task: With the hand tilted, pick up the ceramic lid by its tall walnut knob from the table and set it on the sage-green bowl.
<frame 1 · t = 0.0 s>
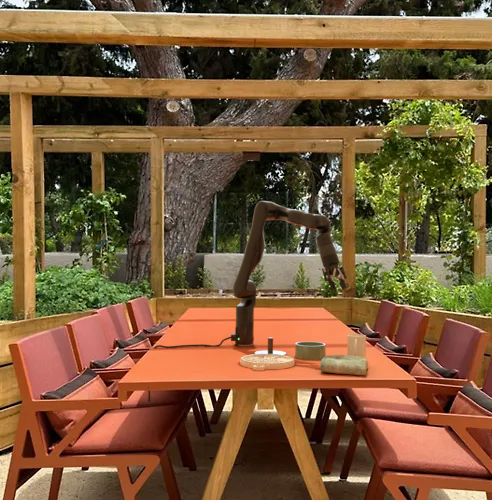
hand: (339, 289, 270), 31 cm above the table, tool tilted 20°, fingers open, 8 cm apart
medallion: (265, 365, 256), on the table
lid: (270, 354, 279), point 1 cm above the table
bowl: (310, 358, 273), on the table
towel: (344, 370, 245), on the table
mug: (355, 363, 261), on the table
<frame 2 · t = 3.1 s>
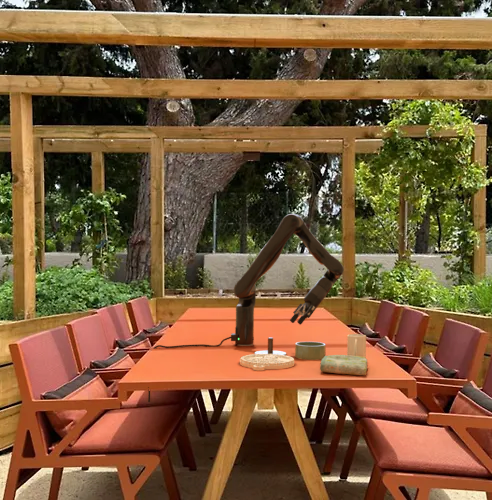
hand: (295, 322, 283), 15 cm above the table, tool tilted 40°, fingers open, 8 cm apart
nothing on the table moved.
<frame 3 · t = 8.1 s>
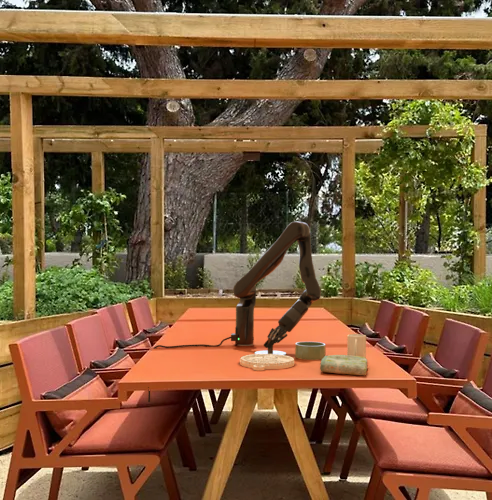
hand: (266, 347, 278), 4 cm above the table, tool tilted 45°, fingers closed on lid, 2 cm apart
lid: (270, 354, 279), point 1 cm above the table, touching gripper
everything else where it was.
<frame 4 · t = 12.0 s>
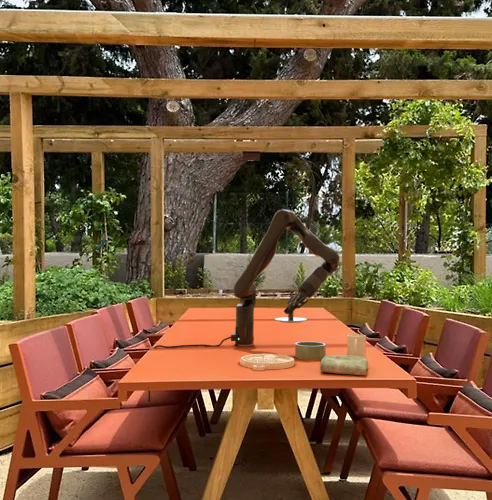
hand: (286, 313, 275), 20 cm above the table, tool tilted 45°, fingers closed on lid, 2 cm apart
lid: (290, 320, 276), point 17 cm above the table, touching gripper
everything else where it was.
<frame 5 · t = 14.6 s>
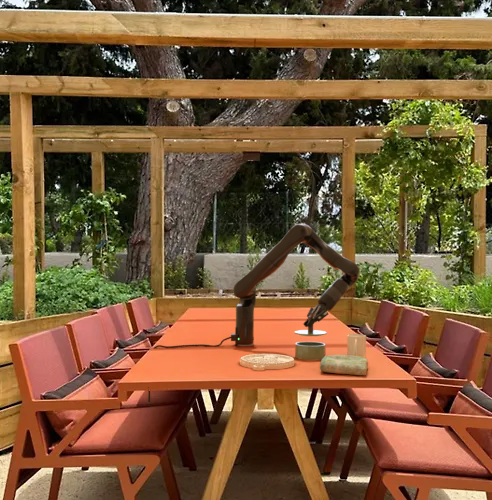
hand: (306, 326, 272), 15 cm above the table, tool tilted 45°, fingers closed on lid, 2 cm apart
lid: (310, 333, 273), point 11 cm above the table, touching gripper
everything else where it was.
when the fingers open (10 cm above the table, at t = 16.2 s): lid stays where it is, resting on bowl.
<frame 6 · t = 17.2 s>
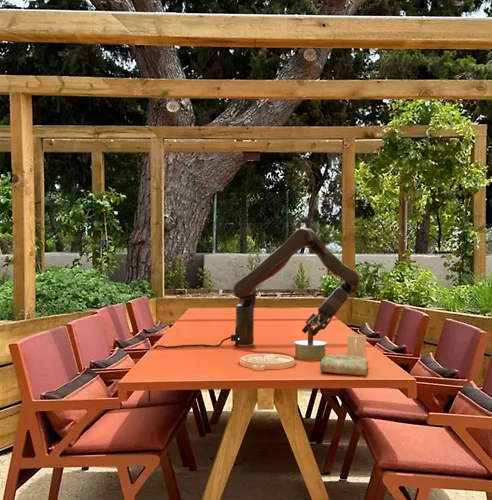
hand: (307, 333, 272), 11 cm above the table, tool tilted 45°, fingers open, 8 cm apart
lid: (310, 343, 273), point 6 cm above the table, touching bowl
everything else where it was.
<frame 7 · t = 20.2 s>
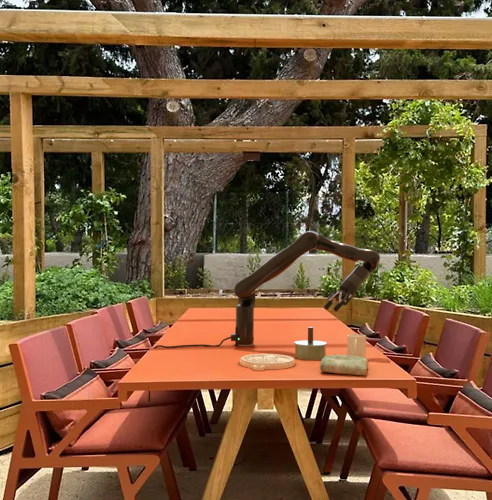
hand: (329, 309, 280), 21 cm above the table, tool tilted 45°, fingers open, 8 cm apart
nothing on the table moved.
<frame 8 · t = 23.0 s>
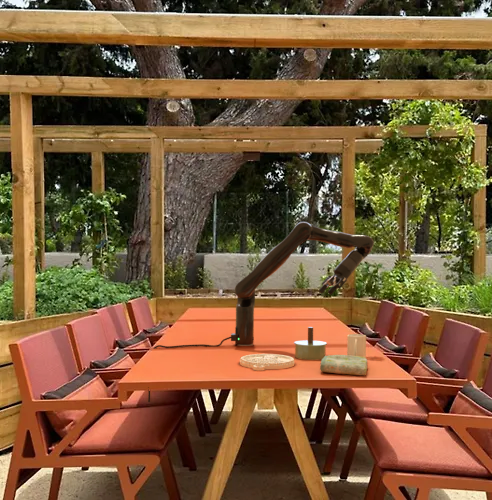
hand: (324, 292, 288), 29 cm above the table, tool tilted 45°, fingers open, 8 cm apart
nothing on the table moved.
at the end: lid 0.1 cm off-centre on the bowl, point 6.5 cm above the bowl's base; lid tilted 0°; the gripper is holding nothing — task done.
